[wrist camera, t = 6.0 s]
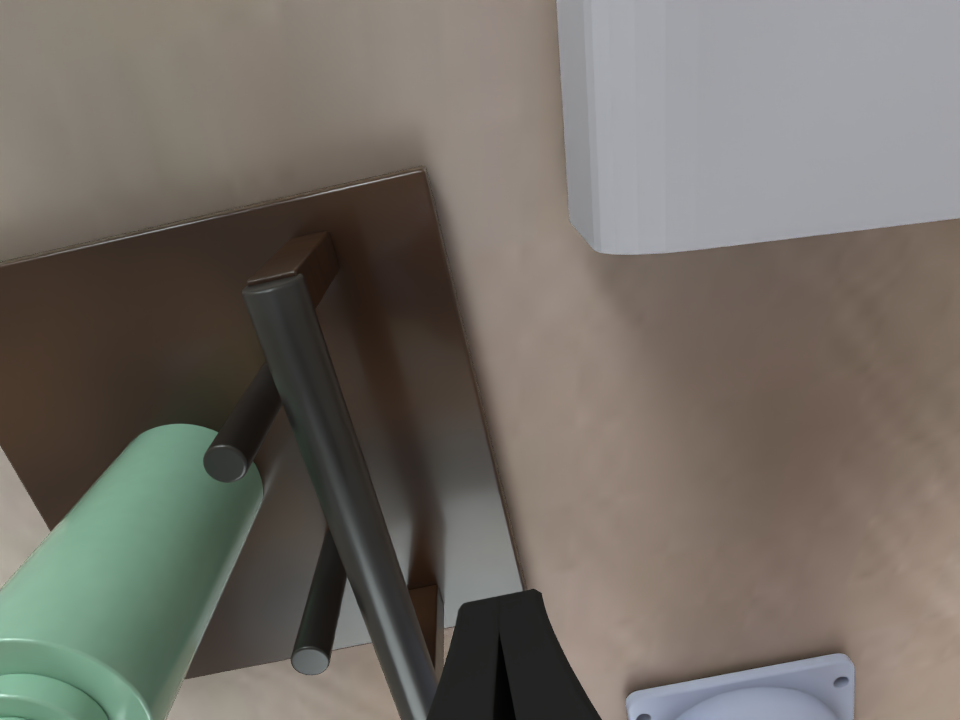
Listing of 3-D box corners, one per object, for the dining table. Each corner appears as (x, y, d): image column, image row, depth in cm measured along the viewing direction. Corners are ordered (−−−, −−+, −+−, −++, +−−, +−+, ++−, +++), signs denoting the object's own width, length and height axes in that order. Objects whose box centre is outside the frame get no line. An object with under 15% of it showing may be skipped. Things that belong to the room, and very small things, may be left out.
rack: (528, 595, 22) (550, 744, 17) (151, 669, 22) (67, 834, 17) (425, 164, 16) (414, 200, 11) (-71, 277, 17) (-287, 358, 12)
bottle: (415, 571, 16) (-37, 1075, 9) (214, 508, 21) (-192, 803, 14) (373, 434, 15) (-217, 905, 7) (167, 398, 19) (-324, 664, 12)
